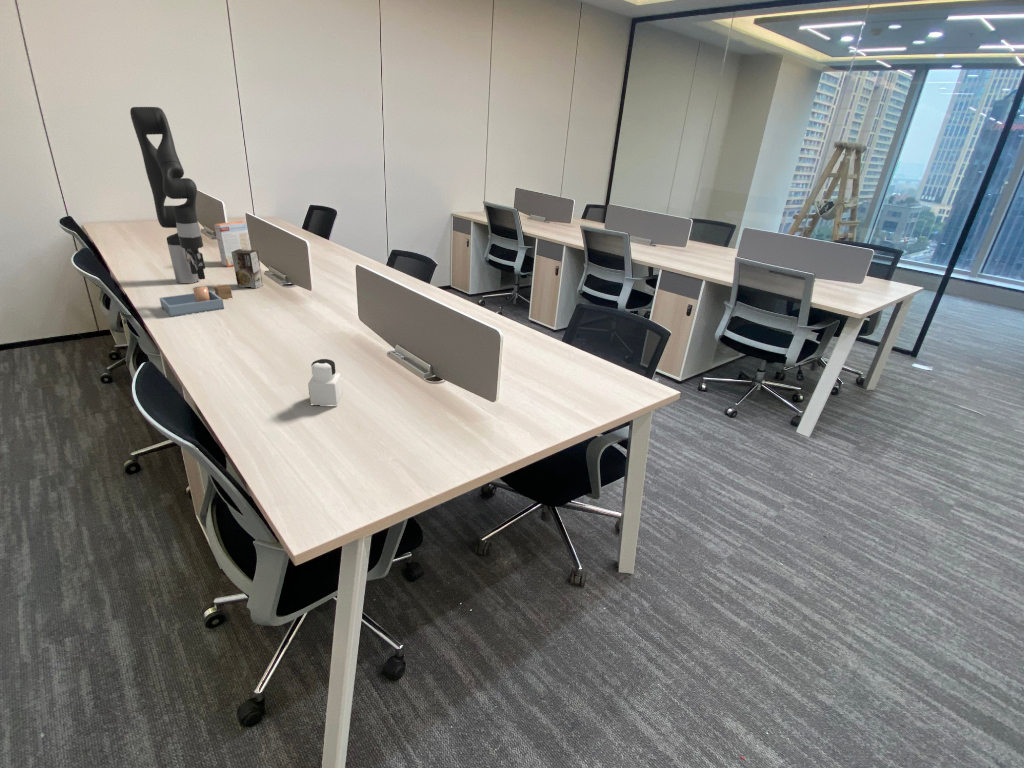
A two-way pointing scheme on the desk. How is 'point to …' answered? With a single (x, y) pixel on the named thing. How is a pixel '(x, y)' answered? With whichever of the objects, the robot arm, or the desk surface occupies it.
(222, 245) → the cracker box
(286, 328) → the desk surface
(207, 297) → the tan capsule
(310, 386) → the white blocky figurine
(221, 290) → the walnut cube
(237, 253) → the coffee box
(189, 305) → the tote
